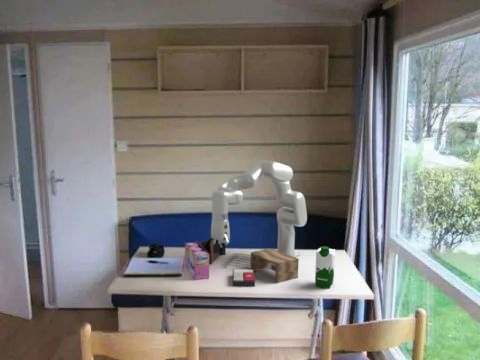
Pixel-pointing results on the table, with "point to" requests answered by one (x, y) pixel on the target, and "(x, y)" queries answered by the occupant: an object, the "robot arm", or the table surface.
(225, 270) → the table surface
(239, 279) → the calculator
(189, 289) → the table surface
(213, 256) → the letter holder
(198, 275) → the gum box
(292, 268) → the tan block
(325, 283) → the milk carton
